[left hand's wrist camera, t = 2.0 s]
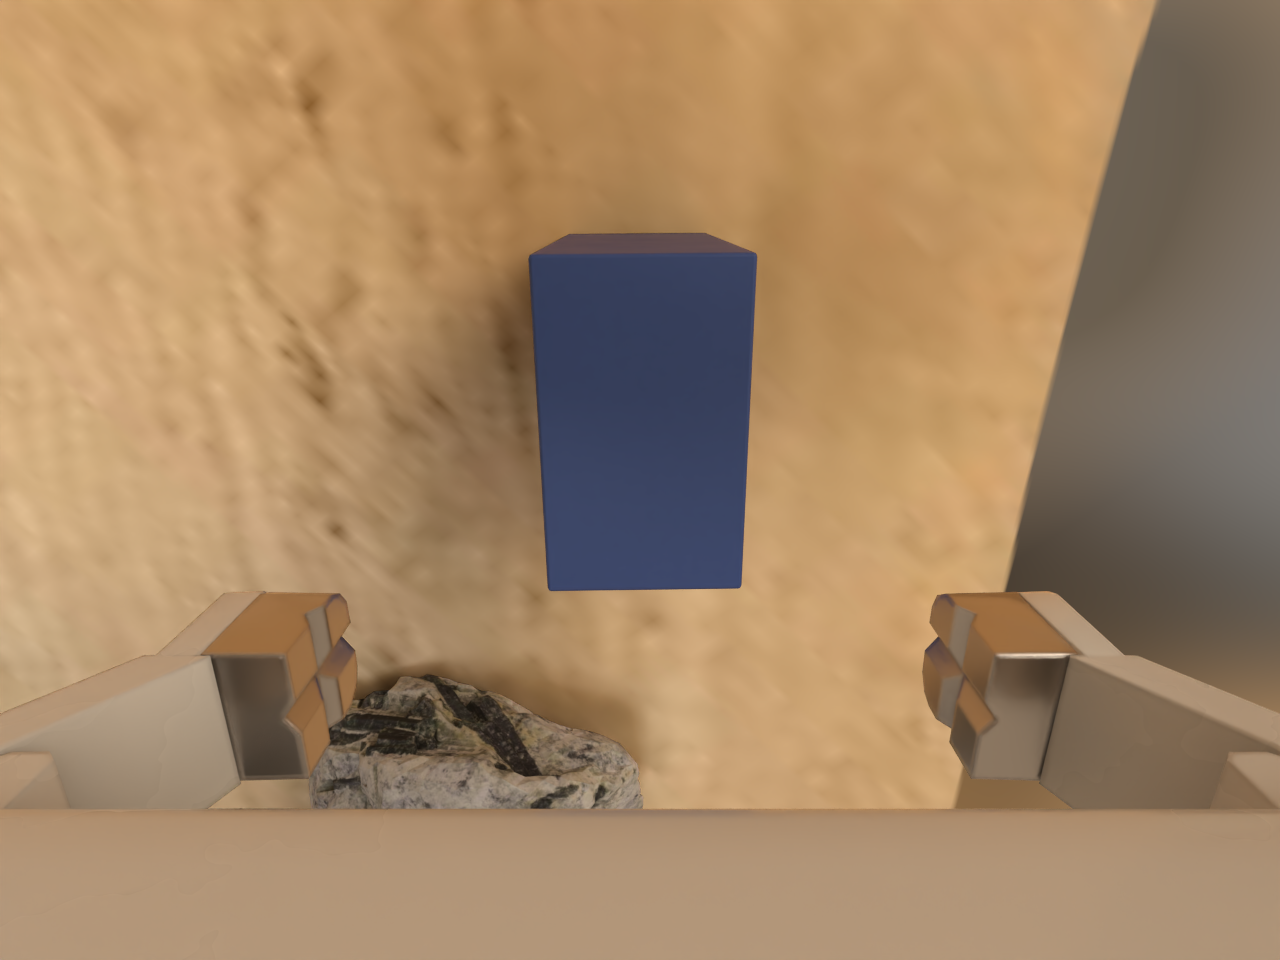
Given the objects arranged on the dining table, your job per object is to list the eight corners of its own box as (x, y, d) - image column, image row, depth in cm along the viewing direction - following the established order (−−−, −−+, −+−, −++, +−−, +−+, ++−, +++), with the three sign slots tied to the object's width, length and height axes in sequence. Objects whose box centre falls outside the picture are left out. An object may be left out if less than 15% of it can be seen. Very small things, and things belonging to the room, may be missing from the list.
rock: (326, 833, 36) (263, 977, 29) (318, 658, 32) (243, 778, 26) (626, 848, 37) (631, 990, 30) (651, 682, 33) (662, 802, 27)
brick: (575, 455, 29) (547, 592, 19) (567, 233, 26) (527, 254, 16) (701, 453, 29) (741, 589, 19) (707, 232, 26) (758, 252, 16)
